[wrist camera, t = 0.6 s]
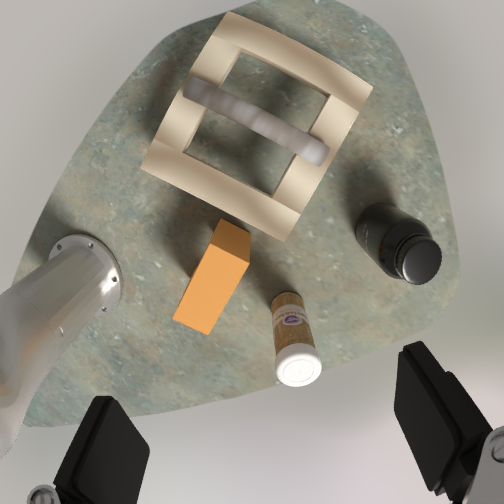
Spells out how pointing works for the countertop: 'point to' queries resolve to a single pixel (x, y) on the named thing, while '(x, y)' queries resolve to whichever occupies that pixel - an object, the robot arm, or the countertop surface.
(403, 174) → the countertop surface
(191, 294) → the orange block
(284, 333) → the sprinkles bottle
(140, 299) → the countertop surface
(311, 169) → the wooden frame stool
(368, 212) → the supplement bottle
